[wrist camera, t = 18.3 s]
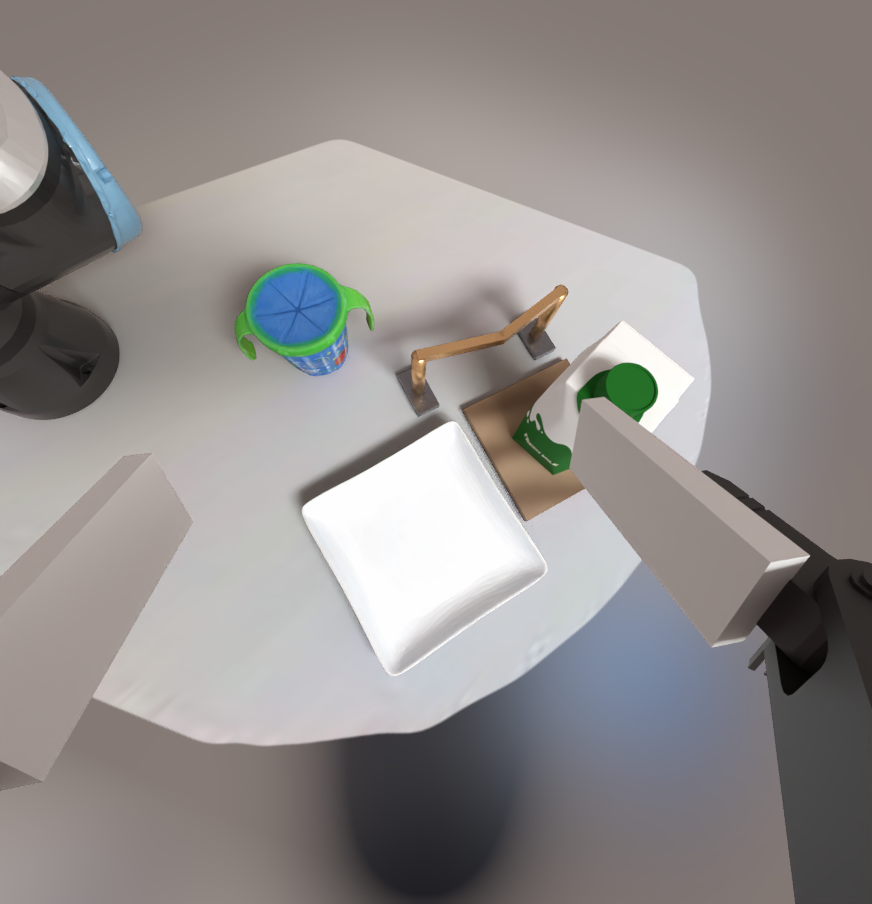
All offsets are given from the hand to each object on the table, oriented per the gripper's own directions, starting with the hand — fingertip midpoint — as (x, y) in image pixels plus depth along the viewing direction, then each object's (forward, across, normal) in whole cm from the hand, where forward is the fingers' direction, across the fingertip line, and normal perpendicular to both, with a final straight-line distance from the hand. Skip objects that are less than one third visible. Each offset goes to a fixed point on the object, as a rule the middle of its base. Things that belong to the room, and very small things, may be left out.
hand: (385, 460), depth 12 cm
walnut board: (+28, +19, -19) cm, 39 cm away
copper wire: (+36, +12, -11) cm, 40 cm away
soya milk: (+27, +20, -18) cm, 38 cm away
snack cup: (+40, -8, -8) cm, 41 cm away
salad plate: (+21, +2, -27) cm, 34 cm away
